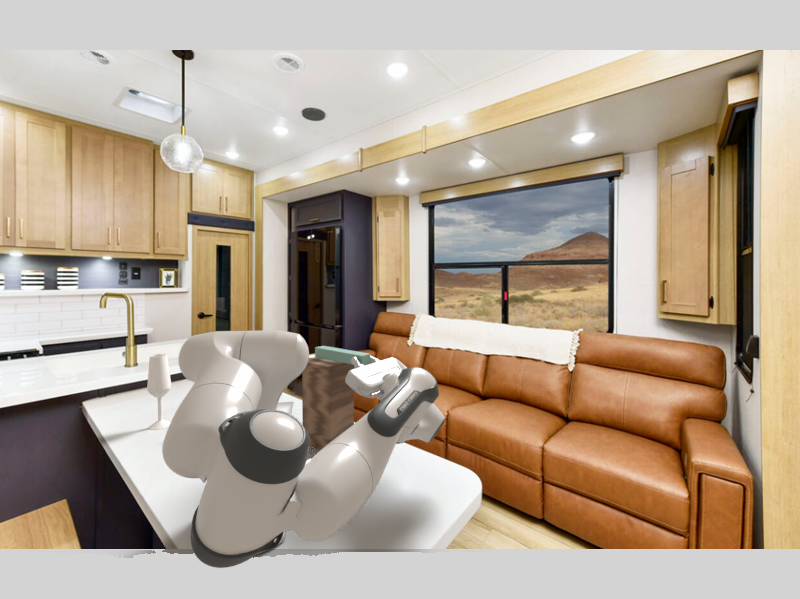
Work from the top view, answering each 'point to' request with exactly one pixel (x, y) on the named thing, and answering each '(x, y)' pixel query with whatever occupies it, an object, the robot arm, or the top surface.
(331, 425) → the stand
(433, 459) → the top surface
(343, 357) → the bar
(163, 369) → the champagne flute
